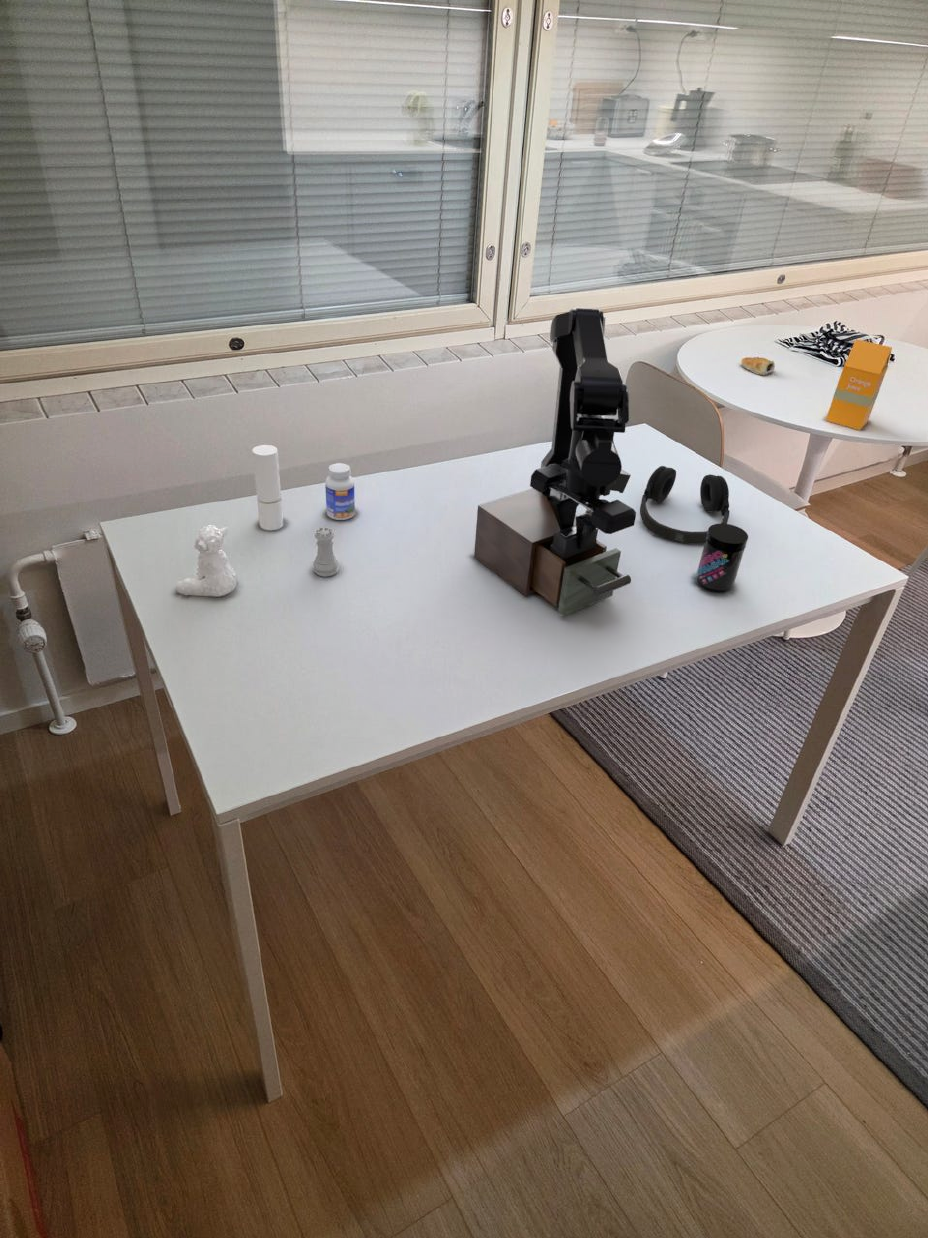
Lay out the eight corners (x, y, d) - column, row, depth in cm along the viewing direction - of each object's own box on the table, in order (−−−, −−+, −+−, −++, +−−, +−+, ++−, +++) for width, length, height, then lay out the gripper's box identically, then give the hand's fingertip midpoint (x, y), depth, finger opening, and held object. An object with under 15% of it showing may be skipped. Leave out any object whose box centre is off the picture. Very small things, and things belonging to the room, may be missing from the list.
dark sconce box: (583, 539, 139) (586, 519, 137) (595, 547, 137) (599, 527, 135) (549, 551, 135) (552, 531, 133) (562, 559, 134) (565, 539, 131)
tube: (278, 531, 153) (271, 456, 144) (256, 528, 153) (248, 453, 145) (286, 520, 156) (281, 446, 147) (265, 517, 157) (258, 443, 148)
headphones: (735, 470, 167) (730, 530, 153) (726, 500, 172) (720, 561, 158) (651, 456, 170) (638, 513, 156) (644, 486, 175) (632, 544, 162)
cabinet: (580, 575, 147) (588, 522, 141) (525, 596, 141) (532, 542, 134) (527, 538, 156) (533, 487, 150) (473, 557, 150) (477, 505, 144)
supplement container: (691, 571, 150) (705, 521, 144) (729, 575, 150) (744, 525, 144) (697, 593, 145) (711, 541, 139) (736, 596, 145) (752, 545, 138)
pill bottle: (337, 523, 156) (335, 477, 151) (321, 512, 160) (318, 466, 154) (360, 515, 159) (359, 469, 154) (344, 504, 163) (343, 458, 157)
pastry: (735, 366, 243) (738, 353, 240) (748, 362, 246) (751, 349, 244) (762, 376, 237) (766, 363, 235) (775, 372, 241) (779, 359, 239)
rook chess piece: (343, 567, 145) (342, 527, 140) (332, 580, 141) (330, 539, 136) (320, 561, 146) (318, 521, 141) (308, 574, 142) (305, 533, 137)
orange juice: (833, 411, 218) (859, 335, 206) (868, 421, 214) (896, 343, 202) (825, 420, 213) (851, 342, 201) (860, 430, 209) (888, 351, 197)
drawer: (633, 610, 138) (643, 565, 133) (583, 632, 132) (591, 586, 127) (559, 558, 149) (565, 515, 144) (510, 577, 144) (515, 533, 138)
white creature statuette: (214, 566, 142) (205, 504, 135) (254, 581, 139) (247, 519, 132) (174, 593, 135) (162, 529, 128) (215, 609, 133) (206, 545, 125)
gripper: (669, 468, 125) (649, 556, 134) (584, 423, 137) (571, 507, 146) (617, 485, 119) (600, 576, 128) (533, 437, 131) (523, 523, 140)
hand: (574, 543), depth 136 cm, fingers closed on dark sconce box, 3 cm apart
